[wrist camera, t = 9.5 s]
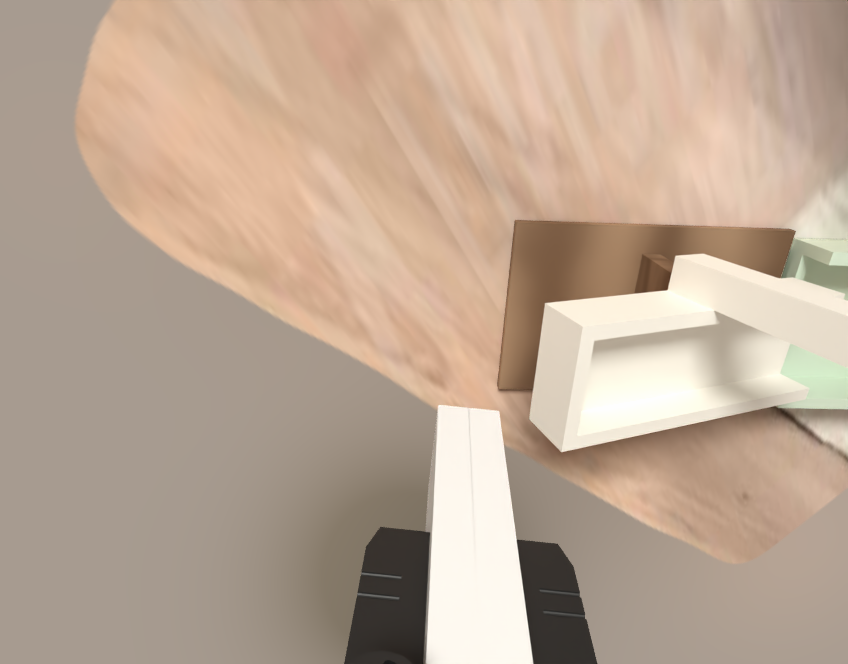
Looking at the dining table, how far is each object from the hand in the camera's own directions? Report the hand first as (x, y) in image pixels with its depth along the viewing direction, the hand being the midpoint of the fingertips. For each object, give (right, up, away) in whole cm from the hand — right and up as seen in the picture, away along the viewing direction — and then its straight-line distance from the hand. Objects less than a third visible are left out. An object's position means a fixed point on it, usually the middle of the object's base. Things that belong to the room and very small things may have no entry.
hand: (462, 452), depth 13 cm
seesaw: (+14, +3, +18) cm, 22 cm away
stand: (+14, +4, +23) cm, 27 cm away
